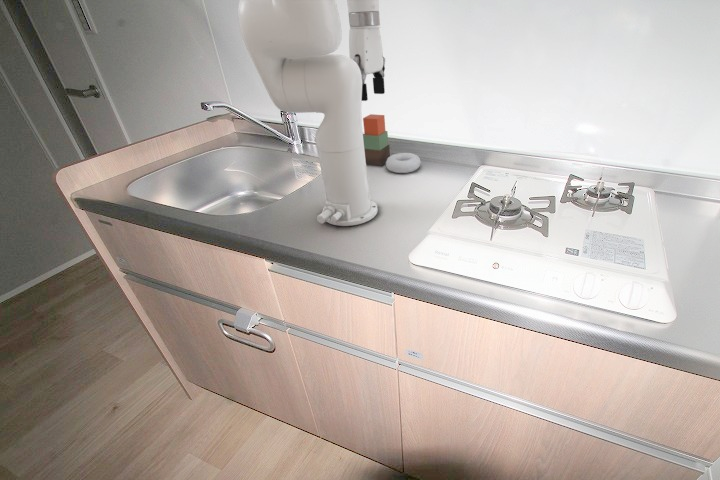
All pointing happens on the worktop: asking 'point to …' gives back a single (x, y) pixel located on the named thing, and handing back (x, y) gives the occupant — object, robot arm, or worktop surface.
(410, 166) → the donut
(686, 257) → the worktop surface
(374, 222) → the worktop surface
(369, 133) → the toy cube
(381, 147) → the stack middle
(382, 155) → the stack base
